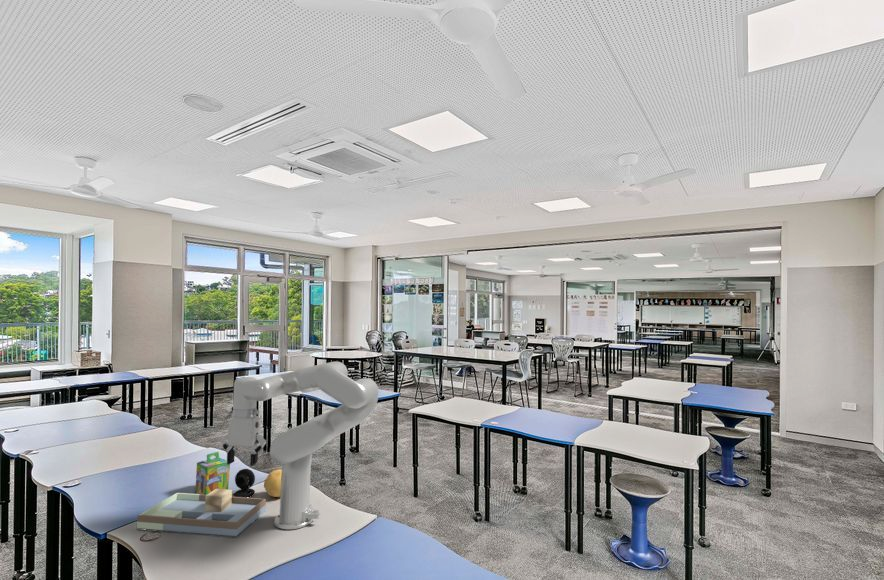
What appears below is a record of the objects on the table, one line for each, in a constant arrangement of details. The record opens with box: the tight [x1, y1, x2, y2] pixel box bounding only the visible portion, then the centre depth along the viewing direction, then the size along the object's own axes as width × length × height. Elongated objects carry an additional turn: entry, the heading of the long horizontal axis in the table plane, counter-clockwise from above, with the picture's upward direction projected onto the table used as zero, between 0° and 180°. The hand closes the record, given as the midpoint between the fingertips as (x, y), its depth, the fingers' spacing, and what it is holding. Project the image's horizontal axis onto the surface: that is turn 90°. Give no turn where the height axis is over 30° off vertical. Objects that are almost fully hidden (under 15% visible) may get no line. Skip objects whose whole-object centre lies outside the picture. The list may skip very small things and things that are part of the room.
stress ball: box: [263, 468, 282, 498], centre depth 167 cm, size 10×10×10 cm
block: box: [205, 489, 233, 512], centre depth 151 cm, size 6×6×5 cm
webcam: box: [233, 468, 256, 498], centre depth 167 cm, size 8×8×10 cm
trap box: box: [136, 492, 267, 539], centre depth 146 cm, size 34×18×4 cm, turn 84°
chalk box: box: [195, 451, 231, 495], centre depth 170 cm, size 9×9×15 cm
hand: (242, 463), depth 151 cm, fingers open, 7 cm apart
